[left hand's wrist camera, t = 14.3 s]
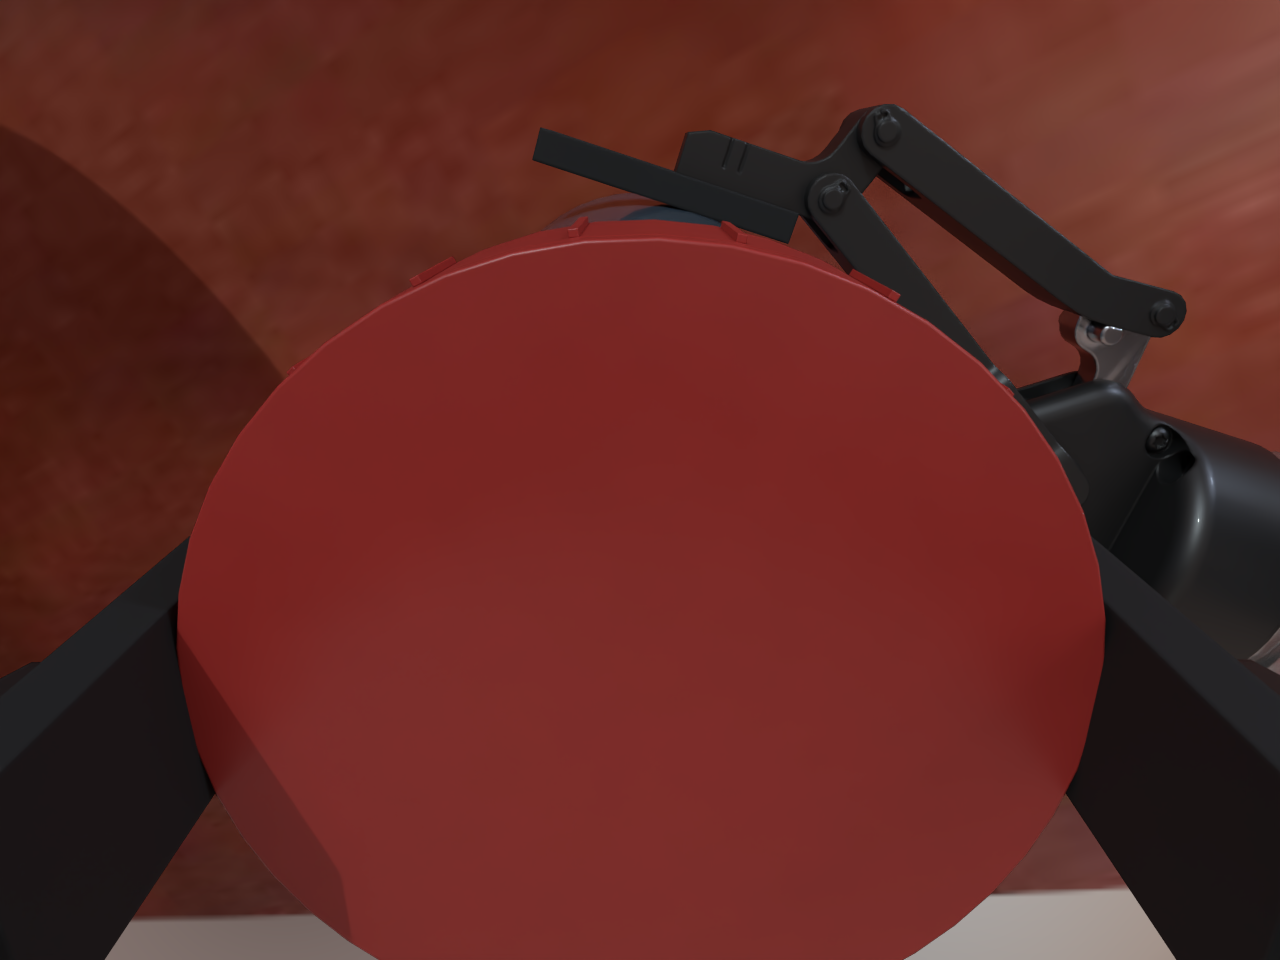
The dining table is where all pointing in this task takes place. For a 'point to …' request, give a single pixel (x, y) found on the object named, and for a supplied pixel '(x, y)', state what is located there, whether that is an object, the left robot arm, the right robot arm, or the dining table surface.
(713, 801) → the lid
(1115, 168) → the dining table surface
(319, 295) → the dining table surface
